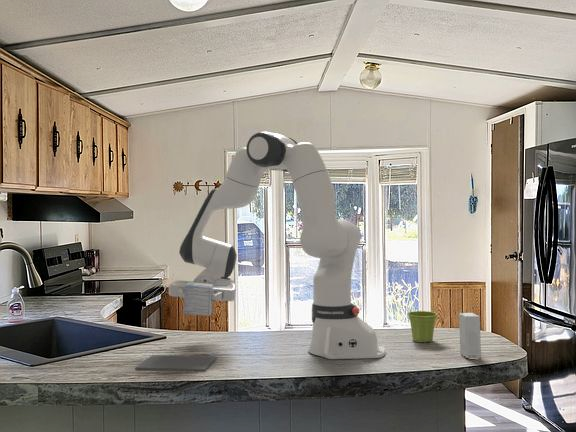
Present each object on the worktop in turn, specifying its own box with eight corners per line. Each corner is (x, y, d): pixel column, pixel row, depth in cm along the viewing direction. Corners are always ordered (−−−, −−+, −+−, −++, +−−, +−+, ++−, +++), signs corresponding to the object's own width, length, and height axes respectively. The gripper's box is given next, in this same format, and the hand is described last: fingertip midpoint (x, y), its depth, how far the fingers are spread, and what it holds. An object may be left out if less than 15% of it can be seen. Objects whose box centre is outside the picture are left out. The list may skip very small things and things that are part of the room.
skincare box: (481, 359, 162) (481, 316, 161) (465, 359, 161) (465, 316, 161) (474, 354, 168) (473, 312, 168) (458, 354, 168) (458, 312, 167)
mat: (216, 358, 165) (216, 356, 165) (205, 371, 152) (205, 369, 152) (152, 357, 167) (152, 354, 167) (135, 369, 154) (135, 367, 154)
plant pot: (404, 342, 183) (403, 314, 182) (411, 336, 191) (411, 309, 191) (434, 345, 178) (434, 317, 178) (440, 338, 187) (440, 312, 187)
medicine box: (212, 312, 173) (213, 284, 172) (209, 316, 169) (211, 287, 168) (185, 310, 173) (187, 281, 172) (182, 314, 169) (184, 285, 168)
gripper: (174, 273, 183) (163, 283, 169) (238, 279, 183) (233, 289, 169) (173, 293, 184) (162, 304, 170) (237, 299, 183) (231, 310, 169)
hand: (198, 296), depth 169 cm, fingers closed on medicine box, 8 cm apart
